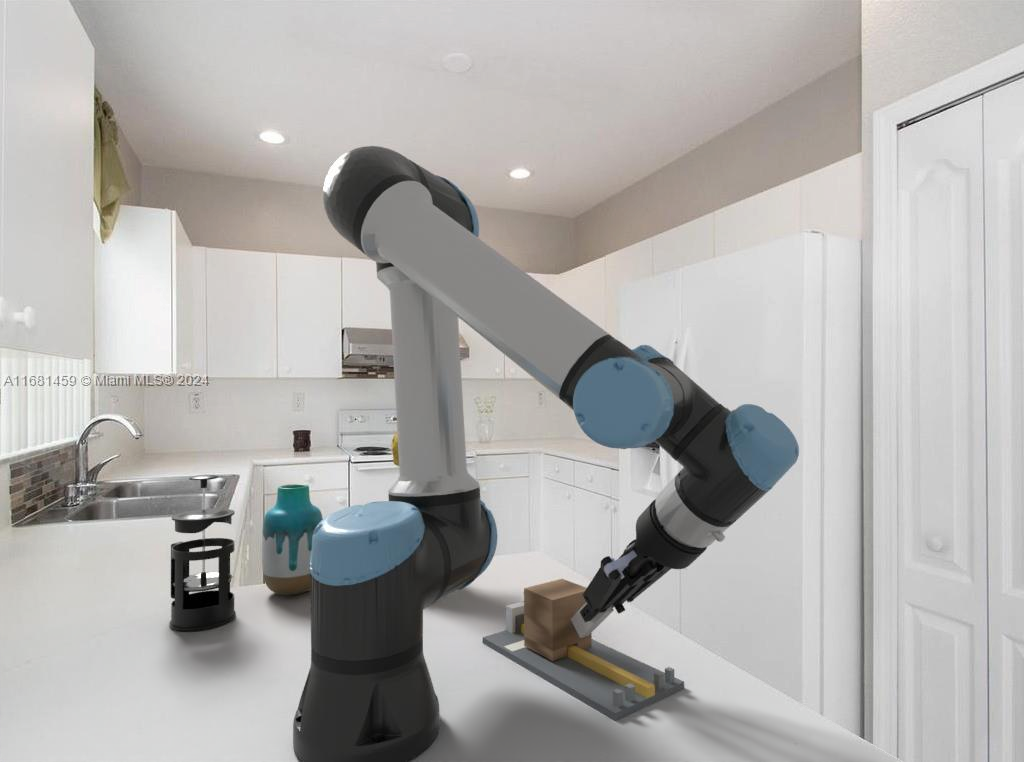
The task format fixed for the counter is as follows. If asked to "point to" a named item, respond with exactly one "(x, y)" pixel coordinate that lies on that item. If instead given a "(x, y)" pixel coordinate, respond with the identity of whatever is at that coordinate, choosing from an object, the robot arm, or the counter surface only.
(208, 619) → the french press
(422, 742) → the robot arm
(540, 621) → the cardboard box
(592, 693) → the sliding block track
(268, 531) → the vase
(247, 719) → the counter surface
